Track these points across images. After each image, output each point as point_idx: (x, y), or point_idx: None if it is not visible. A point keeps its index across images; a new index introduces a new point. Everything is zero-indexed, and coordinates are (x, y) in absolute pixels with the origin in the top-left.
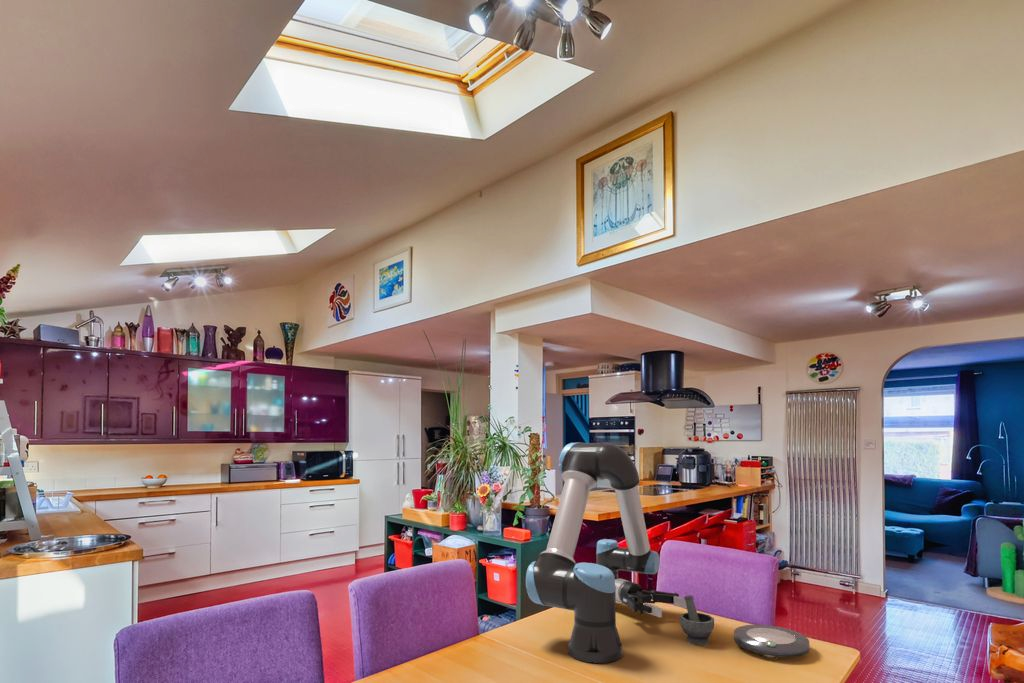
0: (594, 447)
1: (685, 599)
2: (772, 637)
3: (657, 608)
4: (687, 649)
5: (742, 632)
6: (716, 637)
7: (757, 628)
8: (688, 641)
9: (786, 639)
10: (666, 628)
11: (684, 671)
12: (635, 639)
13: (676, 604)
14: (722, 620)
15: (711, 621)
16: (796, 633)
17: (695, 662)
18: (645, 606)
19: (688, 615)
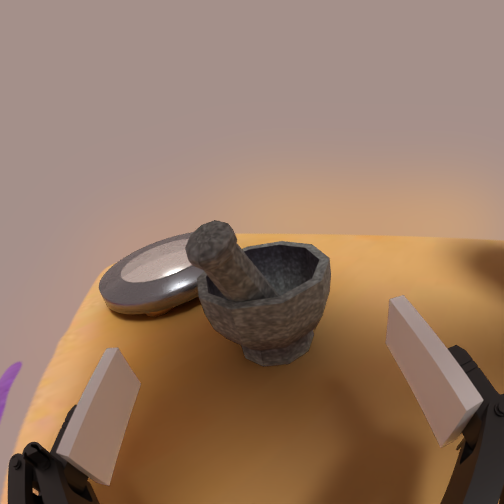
0: None
1: (235, 246)
2: (173, 252)
3: (413, 310)
4: (352, 305)
5: (183, 275)
6: (191, 347)
7: (136, 280)
8: (311, 339)
9: (166, 247)
10: (275, 487)
11: (413, 241)
12: (493, 384)
13: (110, 462)
14: (40, 412)
15: (250, 246)
16: (121, 262)
17: (375, 260)
18: (475, 378)
19: (265, 293)
